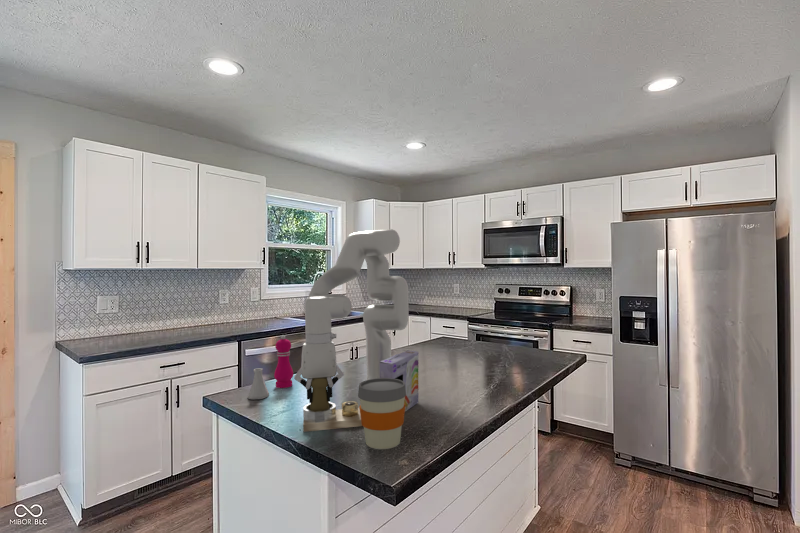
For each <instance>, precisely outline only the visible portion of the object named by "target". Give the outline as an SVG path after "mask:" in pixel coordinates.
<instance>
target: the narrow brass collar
mask: <svg viewBox="0 0 800 533" xmlns="http://www.w3.org/2000/svg"><path fill="white" fill-rule="evenodd" d="M358 408H359V403H358V402H357V401H355V400H354V401H345V402H342V403H341V409H342V416H345V417H353V416H356V415H358Z"/></svg>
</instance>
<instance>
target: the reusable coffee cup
mask: <svg viewBox="0 0 800 533" xmlns="http://www.w3.org/2000/svg"><path fill="white" fill-rule="evenodd" d="M357 394H358V395H357V396H358V398H359V402H360V405H358V408H359V409H360V416H361V423H362V426H361V427H363V432H364V439H365V444H366V446H367V447H369V448H371V449H375V450H389V449H393V448H395V447H397V446H399V445H400V444H401V438H402V437H401V436H402V427H403V425H404V423H405V422H404V421H405V413H406V412H405V403H404V399H405V396H406V389H405V383H404V382H403V381H402V380H399V379H393V378H375V379H369V380H367V379H365V380H363V381H361V382H360V383H359V384H358V391H357Z"/></svg>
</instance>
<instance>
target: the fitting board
mask: <svg viewBox="0 0 800 533" xmlns="http://www.w3.org/2000/svg"><path fill="white" fill-rule="evenodd" d="M302 425H303V428H302V431H303V433H305V432H317V431H326V430H336V429H345V428H346V429H347V428H353V427H354V428H355V427H356V428H357V427H363V426H362V423H361V416H360V409H359V407H358V415H356V416H353V417H345V416H342V408H340V409H339V408H337V409H336V417H335V418H334V419H332V420H330V421H326V422H320V423H311V422H307V421H305V420H304V419H303V423H302Z"/></svg>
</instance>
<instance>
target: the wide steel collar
mask: <svg viewBox="0 0 800 533" xmlns="http://www.w3.org/2000/svg"><path fill="white" fill-rule="evenodd" d="M310 405H311V403H310V402H309V403H307V404H306V405H304V406H303V409H302V410H303V413H302V414H303V420H305V421H307V422H311V423H320V422H326V421H330V420H332V419H334V418H335V417H336V410H337V409H336V408H337V407H336V403H333V402H331V401H329V408H330V409H327V410H324V411H310Z"/></svg>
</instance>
